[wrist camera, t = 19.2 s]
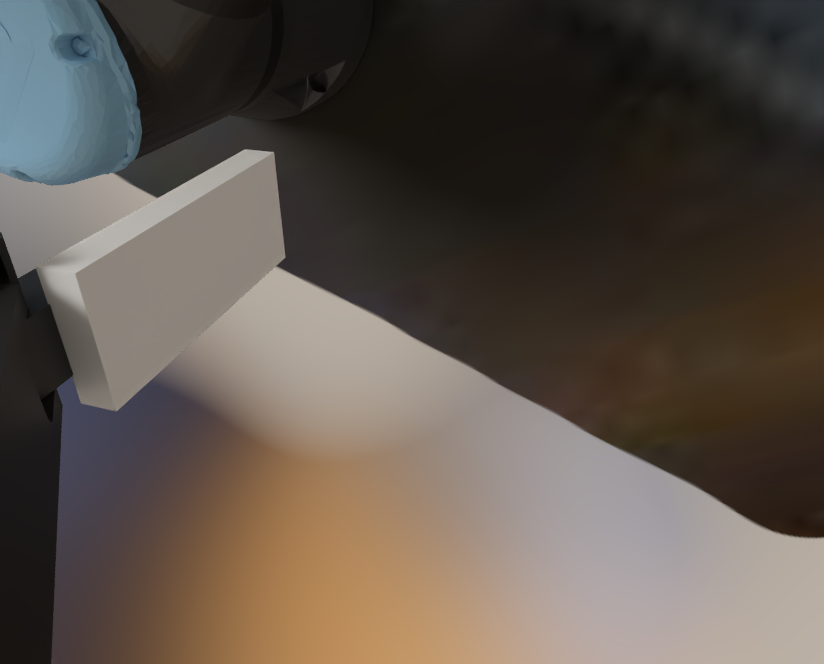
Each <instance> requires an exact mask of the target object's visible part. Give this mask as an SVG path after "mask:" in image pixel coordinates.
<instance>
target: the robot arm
mask: <svg viewBox="0 0 824 664" xmlns="http://www.w3.org/2000/svg"><path fill="white" fill-rule="evenodd" d="M372 17H373V0H0V172H1V173H4V174H6V175H9V176H11V177H14V178H17V179H20V180H23V181H27V182H34V181H35V182H38V183H44V184H47V185H65V184H70V183H75V182H78V181H81V180H85V179H88V178H92V177H95V176H99V175H102V174H109V173H114V172H117V171H120V170H121V169H124V168H126V167H127V165H128V164H129V163H130V162H132V161H134V160H136V159H138V158H140V157H142V156H144V155H146V154H148V153H151V152H153V151H155V150H157V149H159V148H161V147H163V146H165V145H167V144H170V143H172V142H174V141H176V140H178V139H180V138H182V137H184V136H186V135H188V134H191V133H193V132H195V131H197V130H199V129H201V128H203V127H205V126H207V125H209V124H212V123H214V122H216V121H218V120H220V119H222V118H224V117H226V116H228V115H231V116H238V117H244V118H251V119H259V120H276V119H283V118H288V117H293V116H296V115H299V114H301V113H304V112H306V111H308V110H310V109H312V108H313V107H315V106H317V105H319V104H321V103H323V102H324V101H326V100H328V99H329V98H330V97H332V96H333V95H334V94H336V93H337V92H338V91H339V90H340V89H341V88H342V87H343V86H344V85H345V83H346V82H347V81H348V80H349V78H350V77H351V76H352V74H353V73H354V71H355V70H356V68H357V66H358V64H359V62H360V60H361V58H362V56H363V54H364V51H365V48H366V45H367V42H368V39H369V35H370V30H371V25H372ZM284 258H285V250H284V241H283V232H282V223H281V214H280V205H279V195H278V186H277V177H276V168H275V159H274V152H266V151H256V150H246V149H245V150H243V151H241V152H240V153H238V154H236V155H234V156H232V157H231V158H229V159H227V160H225V161H224V162H222V163H220V164H218V165H216V166H215V167H213V168H211V169H209V170H207V171H206V172H204V173H202V174H200V175H199V176H197V177H195V178H193V179H191V180H190V181H188V182H186V183H184V184H182V185H181V186H179V187H177V188H175V189H174V190H172V191H170V192H168V193H166V194H165V195H163V196H161V197H159V198H157V199H156V200H154V201H152V202H150V203H149V204H147V205H145V206H143V207H142V208H140V209H138V210H136V211H135V212H132V213H131V214H129V215H127V216H125V217H124V218H122V219H120V220H118V221H116V222H115V223H113V224H111V225H109V226H108V227H106V228H104V229H102V230H100V231H99V232H97V233H95V234H93V235H91V236H90V237H88V238H86V239H84V240H82V241H81V242H79V243H77V244H75V245H74V246H72V247H70V248H68V249H66V250H65V251H63V252H61V253H59V254H58V255H56V256H54V257H52V258H50V259H49V260H47V261H45V262H43V263H41V264H40V265H38V266H36V269H34V270H32V271H30V272H29V273H27V274H25V275H23V276H21V277H20V278H17V276H16V273H15V270H14V267H13V264H12V261H11V258H10V256H9V253H8V250H7V247H6V244H5V242H4V239H3V236H2V234H1V232H0V664H51V658H52V634H53V612H54V589H55V566H56V564H55V563H56V543H57V521H58V496H59V474H60V450H61V429H62V402H61V400H60V397H59V394H58V391H57V387H59V386H60V385H61V384H63V383H64V382H65V381H66V380H68V379H69V378H70V377H72V378H73V380H74V383H75V387H76V389H77V392H78V395H79V398H80V401H81V403H82V404H87V405H91V406H96V407H100V408H104V409H109V410H113V411H117V410H118V409H119V408H120V407H122V406H123V405H124V404H125V403H126V402H127V401H128V400H130V399H131V398H132V397H133V396H134V395H135V394H136V393H137V392H138V391H139V390H140V389H142V388H143V387H144V386H145V385H146V384H147V383H148V382H149V381H150V380H151V379H152V378H154V377H155V376H156V375H157V374H158V373H159V372H160V371H161V370H162V369H163V368H164V367H166V366H167V365H168V364H169V363H170V362H171V361H172V360H173V359H174V358H175V357H176V356H178V355H179V354H180V353H181V352H182V351H183V350H184V349H185V348H186V347H187V346H188V345H190V344H191V343H192V342H193V341H194V340H195V339H196V338H197V337H198V336H200V335H201V334H202V333H203V332H204V331H205V330H206V329H207V328H208V327H209V326H210V325H212V324H213V323H214V322H215V321H216V320H217V319H218V318H219V317H220V316H221V315H222V314H224V313H225V312H226V311H227V310H228V309H229V308H230V307H231V306H233V305H234V304H235V303H236V302H237V301H238V300H239V299H240V298H241V297H242V296H243V295H245V294H246V293H247V292H248V291H249V290H250V289H251V288H252V287H253V286H254V285H255V284H257V283H258V282H259V281H260V280H261V279H262V278H263V277H264V276H265V275H266V274H268V273H269V272H270V271H271V270H272V269H273V268H274V267H275V266H276V265H277V264H279V263H280V262H281V261H282V260H283V259H284Z"/></svg>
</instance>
